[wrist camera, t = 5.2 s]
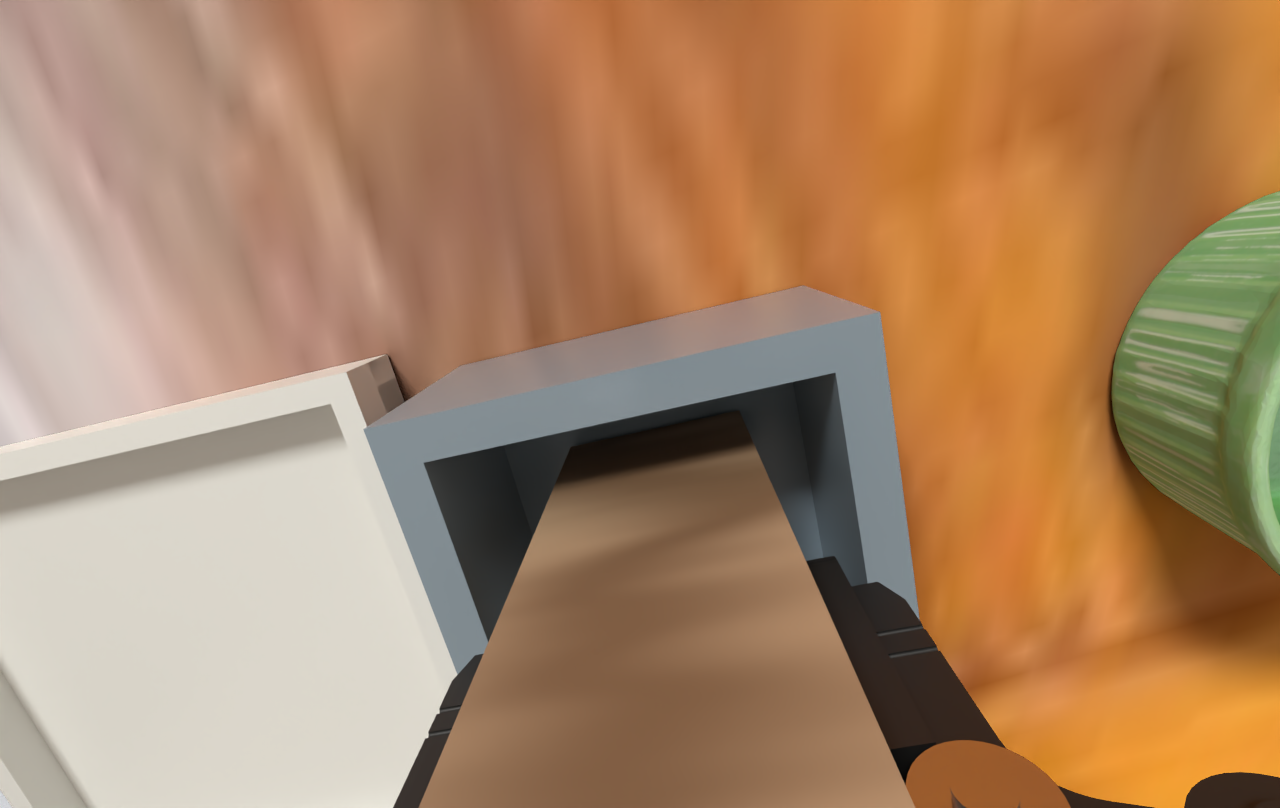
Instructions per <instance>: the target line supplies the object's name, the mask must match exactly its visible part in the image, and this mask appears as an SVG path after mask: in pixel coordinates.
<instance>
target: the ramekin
mask: <svg viewBox="0 0 1280 808" xmlns="http://www.w3.org/2000/svg"><path fill="white" fill-rule="evenodd" d="M1112 407H1113V414H1114V419H1115V423H1116V426H1117V430H1118V433H1119V436H1120V439H1121V441H1122V443H1123V445H1124V447H1125V449H1126V451H1127V453H1128V455H1129V456H1130V459H1131V461H1132V462H1133V463H1134V465H1135V466H1136V467H1137V469H1138V470H1139V471H1140V473H1141V474H1142V475H1143V476H1144V477H1145V478H1146V479H1147V480H1148V481H1149V482H1150V483H1151V484H1152V485H1153V486H1154V487H1156V488H1157V489H1158V490H1159V491H1160V492H1162V493H1163V494H1165V495H1166V496H1168V497H1169V498H1171V499H1172V500H1174V501H1175V502H1177V503H1178V504H1180V505H1181V506H1182V507H1184V508H1185V509H1187V510H1188V511H1190V512H1192V513H1193V514H1195V515H1196V516H1198V517H1200V518H1201V519H1203V520H1204V521H1206V522H1208V523H1209V524H1211V525H1212V526H1214V527H1216V528H1217V529H1219V530H1220V531H1222V532H1224V533H1225V534H1227V535H1228V536H1230V537H1232V538H1233V539H1235V540H1236V541H1238V542H1240V543H1241V544H1243V545H1244V546H1246V547H1248V548H1249V549H1251V550H1252V551H1254V552H1256V553H1257V554H1258V555H1259V556H1260V557H1261V558H1262V559H1263V560H1264V561H1265V562H1266V563H1267V564H1268V565H1269V566H1270V567H1271V568H1272V569H1273V570H1274V571H1275V572H1276V573H1278V574H1279V575H1280V191H1278V192H1275V193H1272V194H1270V195H1267V196H1264V197H1262V198H1260V199H1257V200H1255V201H1253V202H1251V203H1249V204H1247V205H1245V206H1243V207H1241V208H1239V209H1237V210H1236V211H1234V212H1232V213H1231V214H1229V215H1227V216H1225V217H1224V218H1222V219H1221V220H1219V221H1218V222H1216V223H1214V224H1213V225H1211V226H1209V227H1208V228H1207V229H1206V230H1204V231H1203V232H1202V233H1201V234H1200V235H1198V236H1197V237H1196V238H1195V239H1193V240H1192V241H1190V242H1189V243H1188V244H1187V245H1186V246H1185V247H1184V248H1183V249H1182V250H1181V251H1180V252H1179V253H1178V254H1177V255H1175V256H1174V257H1173V258H1172V259H1171V261H1170V262H1169V263H1168V264H1167V265H1166V266H1165V267H1164V268H1163V269H1162V270H1161V272H1160V273H1159V274H1158V275H1157V276H1156V277H1155V279H1154V280H1153V281H1152V283H1151V284H1150V285H1149V287H1148V288H1147V290H1146V291H1145V293H1144V294H1143V296H1142V297H1141V299H1140V301H1139V302H1138V304H1137V306H1136V308H1135V309H1134V311H1133V313H1132V315H1131V317H1130V319H1129V321H1128V323H1127V325H1126V328H1125V330H1124V333H1123V335H1122V338H1121V341H1120V344H1119V346H1118V349H1117V352H1116V355H1115V361H1114V366H1113V377H1112Z"/></svg>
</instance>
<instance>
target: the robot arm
mask: <svg viewBox="0 0 1280 808" xmlns="http://www.w3.org/2000/svg"><path fill="white" fill-rule="evenodd" d="M806 562H807V565H808V567H809V569H810V571H811V574H812V576H813V578H814V580H815V583H816V585H817V587H818V589H819V592H820V594H821V596H822V598H823V601H824V603H825V605H826V607H827V610H828V612H829V614H830V616H831V619H832V621H833V623H834V625H835V628H836V630H837V632H838V634H839V637H840V639H841V641H842V643H843V646H844V648H845V650H846V652H847V655H848V657H849V659H850V661H851V664H852V666H853V668H854V670H855V673H856V675H857V677H858V679H859V682H860V684H861V686H862V688H863V691H864V693H865V695H866V698H867V700H868V702H869V704H870V707H871V709H872V711H873V713H874V716H875V718H876V720H877V722H878V725H879V727H880V729H881V731H882V734H883V736H884V738H885V740H886V743H887V745H888V747H889V749H890V752H891V754H892V756H893V758H894V761H895V763H896V765H897V767H898V770H899V772H900V774H901V776H902V779H903V781H904V783H905V785H906V788H907V790H908V792H909V794H910V797H911V799H912V801H913V803H914V806H915V808H1153V807H1146V806H1139V805H1132V804H1125V803H1118V802H1111V801H1106V800H1100V799H1095V798H1091V797H1088V796H1084V795H1081V794H1078V793H1074V792H1072V791H1070V790H1067V789H1065V788H1062V787H1060V786H1057V785H1056V784H1055V783H1054V781H1053V780H1052V779H1051V778H1050V777H1049V776H1048V775H1047V774H1046V773H1045V772H1043V771H1042V770H1041V769H1040V768H1038V767H1037V766H1036V765H1035V764H1033V763H1032V762H1030V761H1029V760H1027V759H1025V758H1024V757H1022V756H1020V755H1018V754H1016V753H1014V752H1012V751H1010V750H1008V749H1006V748H1005V746H1004V745H1003V744H1002V742H1001V741H1000V740H999V739H998V737H997V736H996V734H995V733H994V731H993V730H992V728H991V727H990V725H989V724H988V722H987V721H986V719H985V718H984V716H983V715H982V713H981V712H980V710H979V709H978V707H977V706H976V704H975V703H974V701H973V700H972V698H971V697H970V695H969V694H968V692H967V691H966V689H965V688H964V686H963V685H962V683H961V682H960V680H959V679H958V677H957V676H956V674H955V673H954V671H953V670H952V668H951V667H950V665H949V664H948V662H947V661H946V659H945V658H944V656H943V655H942V653H941V652H940V651H938V650H937V647H936V644H935V643H934V641H933V640H932V638H931V637H930V635H929V634H928V632H927V631H926V629H923V626H922V623H921V622H920V620H919V619H918V617H917V616H916V614H915V613H914V611H913V610H912V608H911V607H910V605H909V604H908V602H907V601H906V599H904V598H902V597H901V596H899V595H898V594H896V593H895V592H893V591H892V590H890V589H889V588H887V587H886V586H884V585H882V584H881V583H879V582H873V583H867V584H862V585H856V586H851V585H850V583H849V581H848V579H847V577H846V575H845V574H844V572H843V570H842V568H841V566H840V564H839V562H838V561H837V559H836V557H835V556H829V557H824V558H818V559H813V560H808V561H806ZM482 656H483V654H479V655H475V656H474V657H473V658H472V659H471V660H470V661H469V663H468V664H467V665H466V666H465V667H464V668H463V669H462V670H461V671H460V673H459V674H458V675H457V676H456V677H455V678H454V679H453V680H452V682H451V684H450V686H449V689H448V691H447V693H446V695H445V697H444V699H443V701H442V704H441V706H440V708H439V710H440V713H439V714H436V716H435V719H434V721H433V723H432V725H431V727H430V729H429V731H428V734H429V736H428V738H425V740H424V742H423V744H422V747H421V749H420V751H419V753H418V755H417V757H416V759H415V762H414V764H413V766H412V768H411V770H410V772H409V774H408V777H407V779H406V781H405V783H404V785H403V787H402V789H401V792H400V794H399V796H398V798H397V800H396V802H395V804H394V807H393V808H419V806H420V803H421V801H422V798H423V796H424V794H425V791H426V789H427V787H428V784H429V782H430V779H431V777H432V775H433V772H434V770H435V768H436V765H437V763H438V761H439V758H440V756H441V753H442V751H443V749H444V746H445V744H446V742H447V739H448V737H449V734H450V732H451V730H452V727H453V725H454V723H455V720H456V718H457V715H458V713H459V711H460V708H461V706H462V704H463V701H464V699H465V697H466V694H467V692H468V689H469V687H470V685H471V682H472V680H473V678H474V675H475V673H476V670H477V668H478V666H479V663H480V661H481V659H482ZM1184 808H1280V778H1278V777H1274V776H1268V775H1262V774H1255V773H1242V772H1238V773H1223V774H1219V775H1214V776H1210V777H1208V778H1206V779H1204V780H1201V781H1200V782H1198V783H1197V784H1196V785H1195V786H1194V787H1192V789H1191V790H1190V792H1189V793H1188V795H1187V797H1186V802H1185V806H1184Z"/></svg>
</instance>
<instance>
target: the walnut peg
mask: <svg viewBox="0 0 1280 808" xmlns="http://www.w3.org/2000/svg"><path fill="white" fill-rule="evenodd" d="M419 808H915V806H914V803H913V801H912V799H911V797H910V794H909V792H908V790H907V788H906V785H905V783H904V781H903V779H902V776H901V774H900V772H899V770H898V767H897V765H896V763H895V761H894V758H893V756H892V754H891V752H890V749H889V747H888V745H887V743H886V740H885V738H884V736H883V734H882V731H881V729H880V727H879V725H878V722H877V720H876V718H875V716H874V713H873V711H872V709H871V707H870V704H869V702H868V700H867V698H866V695H865V693H864V691H863V688H862V686H861V684H860V682H859V679H858V677H857V675H856V673H855V670H854V668H853V666H852V664H851V661H850V659H849V657H848V655H847V652H846V650H845V648H844V646H843V643H842V641H841V639H840V637H839V634H838V632H837V630H836V628H835V625H834V623H833V621H832V619H831V616H830V614H829V612H828V610H827V607H826V605H825V603H824V601H823V598H822V596H821V594H820V592H819V589H818V587H817V585H816V583H815V580H814V578H813V576H812V574H811V571H810V569H809V567H808V565H807V562H806V560H805V558H804V555H803V553H802V551H801V549H800V546H799V544H798V542H797V540H796V537H795V535H794V533H793V531H792V528H791V526H790V524H789V522H788V519H787V517H786V515H785V513H784V510H783V508H782V506H781V504H780V501H779V499H778V497H777V495H776V492H775V490H774V488H773V486H772V483H771V481H770V479H769V477H768V474H767V472H766V470H765V468H764V465H763V463H762V461H761V459H760V456H759V454H758V452H757V450H756V447H755V445H754V443H753V441H752V438H751V436H750V434H749V432H748V429H747V427H746V425H745V422H744V420H743V418H742V416H741V413H740V411H739V410H738V411H733V412H729V413H724V414H720V415H715V416H710V417H706V418H701V419H697V420H692V421H687V422H683V423H678V424H674V425H669V426H664V427H660V428H655V429H651V430H646V431H641V432H637V433H632V434H628V435H623V436H618V437H614V438H609V439H605V440H600V441H595V442H591V443H586V444H582V445H577V446H572V447H571V448H570V450H569V452H568V455H567V457H566V459H565V462H564V464H563V467H562V469H561V471H560V474H559V476H558V478H557V481H556V483H555V485H554V488H553V490H552V493H551V495H550V497H549V500H548V502H547V504H546V507H545V509H544V512H543V514H542V516H541V519H540V521H539V523H538V526H537V528H536V531H535V533H534V535H533V538H532V540H531V542H530V545H529V547H528V550H527V552H526V554H525V557H524V559H523V561H522V564H521V566H520V568H519V571H518V573H517V576H516V578H515V580H514V583H513V585H512V587H511V590H510V592H509V595H508V597H507V599H506V602H505V604H504V606H503V609H502V611H501V614H500V616H499V618H498V621H497V623H496V625H495V628H494V630H493V632H492V635H491V637H490V640H489V642H488V644H487V647H486V649H485V651H484V654H483V656H482V659H481V661H480V663H479V666H478V668H477V670H476V673H475V675H474V678H473V680H472V682H471V685H470V687H469V689H468V692H467V694H466V697H465V699H464V701H463V704H462V706H461V708H460V711H459V713H458V715H457V718H456V720H455V723H454V725H453V727H452V730H451V732H450V734H449V737H448V739H447V742H446V744H445V746H444V749H443V751H442V753H441V756H440V758H439V761H438V763H437V765H436V768H435V770H434V772H433V775H432V777H431V779H430V782H429V784H428V787H427V789H426V791H425V794H424V796H423V798H422V801H421V803H420V806H419Z"/></svg>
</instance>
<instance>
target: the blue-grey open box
mask: <svg viewBox="0 0 1280 808" xmlns="http://www.w3.org/2000/svg"><path fill="white" fill-rule="evenodd" d="M738 410H739V411H740V413H741V416H742V418H743V420H744V422H745V425H746V427H747V429H748V432H749V434H750V436H751V438H752V441H753V443H754V445H755V447H756V450H757V452H758V454H759V456H760V459H761V461H762V463H763V465H764V468H765V470H766V472H767V474H768V477H769V479H770V481H771V483H772V486H773V488H774V490H775V492H776V495H777V497H778V499H779V501H780V504H781V506H782V508H783V510H784V513H785V515H786V517H787V519H788V522H789V524H790V526H791V528H792V531H793V533H794V535H795V537H796V540H797V542H798V544H799V546H800V549H801V551H802V553H803V555H804V558H805V560H806V561H808V560H813V559H818V558H824V557H829V556H835V557H836V559H837V561H838V562H839V564H840V566H841V568H842V570H843V572H844V574H845V575H846V577H847V579H848V581H849V583H850V585H851V586H856V585H862V584H867V583H873V582H879V583H881V584H882V585H884V586H886V587H887V588H889V589H890V590H892V591H893V592H895V593H896V594H898V595H899V596H901V597H902V598H904V599H906V601H907V602H908V604H909V605H910V607H911V608H912V610H913V611H914V613H915V614H916V616H917V617H918V619H919V612H918V604H917V596H916V588H915V581H914V573H913V565H912V557H911V549H910V542H909V534H908V526H907V518H906V510H905V503H904V495H903V487H902V479H901V471H900V464H899V456H898V448H897V440H896V432H895V424H894V417H893V409H892V401H891V393H890V385H889V378H888V370H887V362H886V354H885V346H884V339H883V331H882V323H881V315H880V312H879V311H876V310H873V309H870V308H867V307H864V306H862V305H859V304H856V303H853V302H850V301H847V300H844V299H841V298H838V297H836V296H833V295H830V294H827V293H824V292H821V291H818V290H815V289H812V288H810V287H807V286H804V285H803V286H799V287H795V288H791V289H786V290H782V291H778V292H773V293H769V294H765V295H761V296H756V297H752V298H748V299H744V300H739V301H735V302H731V303H727V304H722V305H718V306H714V307H709V308H705V309H701V310H697V311H692V312H688V313H684V314H680V315H675V316H671V317H667V318H662V319H658V320H654V321H650V322H645V323H641V324H637V325H633V326H628V327H624V328H620V329H615V330H611V331H607V332H603V333H598V334H594V335H590V336H586V337H581V338H577V339H573V340H568V341H564V342H560V343H556V344H551V345H547V346H543V347H539V348H534V349H530V350H526V351H521V352H517V353H513V354H509V355H504V356H500V357H496V358H492V359H487V360H483V361H479V362H475V363H470V364H466V365H462V366H459V367H458V368H456V369H455V370H453V371H452V372H450V373H449V374H447V375H445V376H444V377H442V378H441V379H439V380H438V381H436V382H435V383H433V384H432V385H430V386H429V387H427V388H426V389H424V390H423V391H421V392H419V393H418V394H416V395H415V396H413V397H412V398H410V399H409V400H407V401H406V402H404V403H403V404H401V405H400V406H398V407H397V408H395V409H393V410H392V411H390V412H389V413H387V414H386V415H384V416H383V417H381V418H380V419H378V420H377V421H375V422H374V423H372V424H371V425H369V426H367V427H366V428H364V429H363V430H364V433H365V435H366V438H367V440H368V443H369V446H370V448H371V451H372V453H373V456H374V459H375V461H376V464H377V467H378V469H379V472H380V474H381V477H382V480H383V482H384V485H385V487H386V490H387V493H388V495H389V498H390V500H391V503H392V506H393V508H394V511H395V513H396V516H397V519H398V521H399V524H400V526H401V529H402V532H403V534H404V537H405V539H406V542H407V545H408V547H409V550H410V552H411V555H412V558H413V560H414V563H415V565H416V568H417V571H418V573H419V576H420V578H421V581H422V584H423V586H424V589H425V591H426V594H427V597H428V599H429V602H430V604H431V607H432V610H433V612H434V615H435V618H436V620H437V623H438V625H439V628H440V631H441V633H442V636H443V638H444V641H445V644H446V646H447V649H448V651H449V654H450V657H451V659H452V662H453V664H454V667H455V670H456V672H457V675H458V674H459V673H460V671H461V670H462V669H463V668H464V667H465V666H466V665H467V664H468V663H469V661H470V660H471V659H472V658H473V657H474V656H475V655H479V654H484V651H485V649H486V647H487V644H488V642H489V640H490V637H491V635H492V632H493V630H494V628H495V625H496V623H497V621H498V618H499V616H500V614H501V611H502V609H503V606H504V604H505V602H506V599H507V597H508V595H509V592H510V590H511V587H512V585H513V583H514V580H515V578H516V576H517V573H518V571H519V568H520V566H521V564H522V561H523V559H524V557H525V554H526V552H527V550H528V547H529V545H530V542H531V540H532V538H533V535H534V533H535V531H536V528H537V526H538V523H539V521H540V519H541V516H542V514H543V512H544V509H545V507H546V504H547V502H548V500H549V497H550V495H551V493H552V490H553V488H554V485H555V483H556V481H557V478H558V476H559V474H560V471H561V469H562V467H563V464H564V462H565V459H566V457H567V455H568V452H569V450H570V448H571V447H572V446H577V445H582V444H586V443H591V442H595V441H600V440H605V439H609V438H614V437H618V436H623V435H628V434H632V433H637V432H641V431H646V430H651V429H655V428H660V427H664V426H669V425H674V424H678V423H683V422H687V421H692V420H697V419H701V418H706V417H710V416H715V415H720V414H724V413H729V412H733V411H738Z"/></svg>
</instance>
